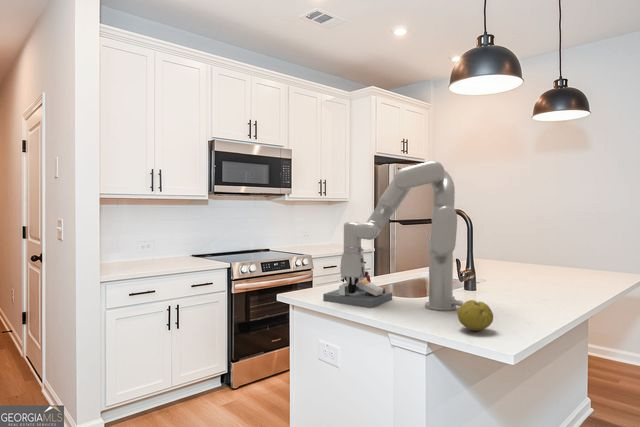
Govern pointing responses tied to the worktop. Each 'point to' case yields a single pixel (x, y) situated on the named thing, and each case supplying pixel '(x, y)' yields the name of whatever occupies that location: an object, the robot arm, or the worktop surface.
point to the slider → (343, 290)
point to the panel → (358, 298)
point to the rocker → (370, 287)
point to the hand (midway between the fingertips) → (352, 293)
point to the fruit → (475, 315)
